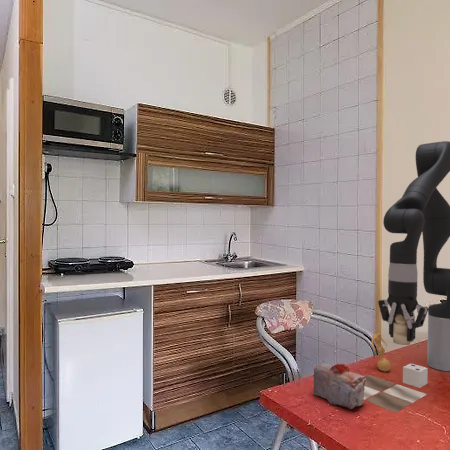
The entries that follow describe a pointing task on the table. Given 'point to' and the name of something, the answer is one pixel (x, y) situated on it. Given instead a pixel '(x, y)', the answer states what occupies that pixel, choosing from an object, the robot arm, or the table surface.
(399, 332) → the pawn
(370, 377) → the game mat
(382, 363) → the figurine
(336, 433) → the table surface
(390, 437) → the table surface
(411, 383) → the die
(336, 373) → the food item
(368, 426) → the table surface
